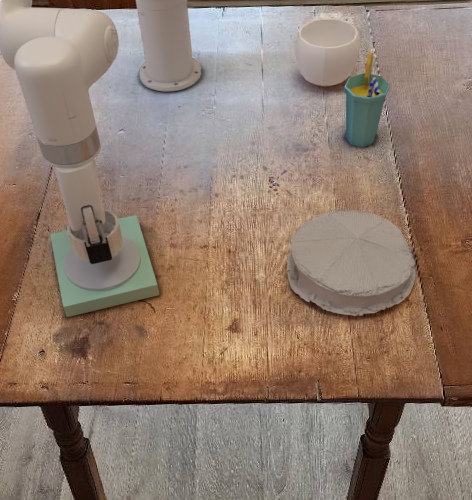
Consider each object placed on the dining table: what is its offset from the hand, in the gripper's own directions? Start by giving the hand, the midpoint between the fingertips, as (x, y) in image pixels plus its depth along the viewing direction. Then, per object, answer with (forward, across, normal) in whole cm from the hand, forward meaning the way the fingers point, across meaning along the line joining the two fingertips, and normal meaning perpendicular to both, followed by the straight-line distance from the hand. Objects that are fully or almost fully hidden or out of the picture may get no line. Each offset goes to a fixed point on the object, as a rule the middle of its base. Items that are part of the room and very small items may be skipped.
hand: (96, 241), depth 100 cm
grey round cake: (+7, +11, +36) cm, 38 cm away
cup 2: (+7, -18, +50) cm, 54 cm away
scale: (+7, -1, 0) cm, 7 cm away
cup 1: (+7, -39, +51) cm, 65 cm away
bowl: (+1, 0, 0) cm, 1 cm away
